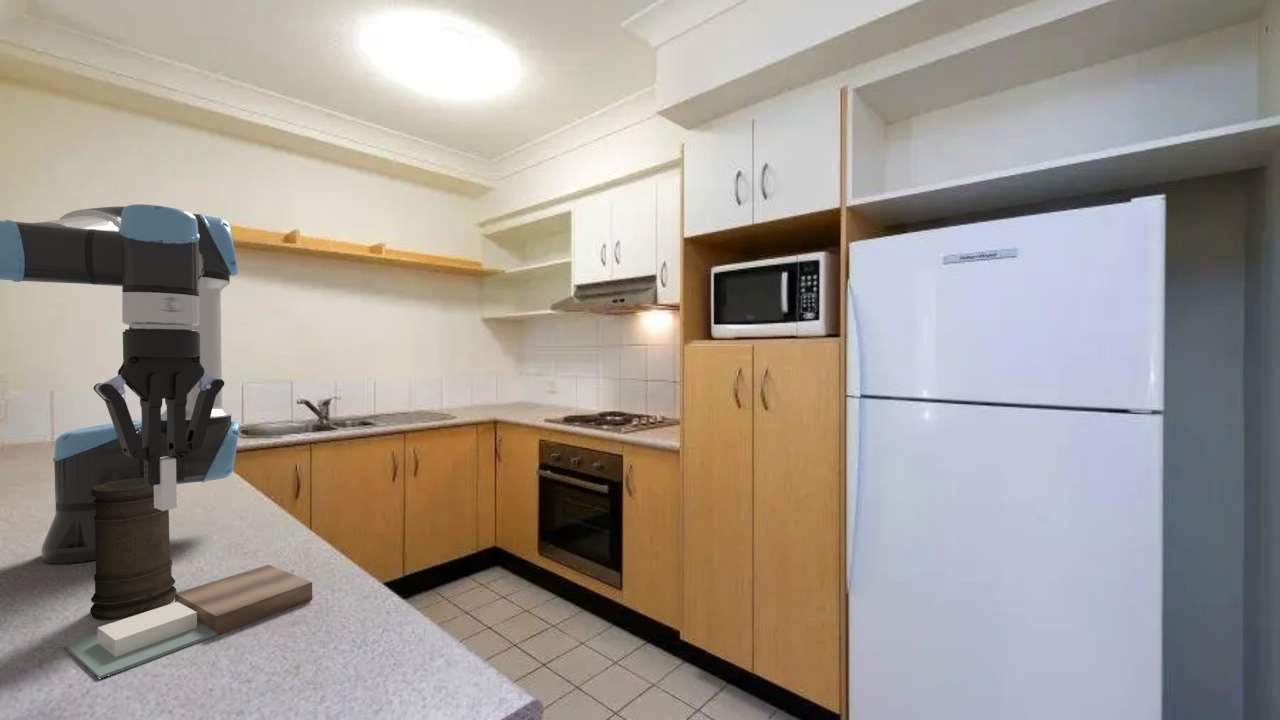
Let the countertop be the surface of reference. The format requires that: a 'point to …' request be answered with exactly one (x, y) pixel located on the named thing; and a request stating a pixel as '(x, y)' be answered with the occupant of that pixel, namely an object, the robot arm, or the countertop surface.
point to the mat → (108, 664)
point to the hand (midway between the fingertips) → (165, 507)
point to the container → (130, 551)
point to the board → (245, 597)
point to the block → (146, 628)
